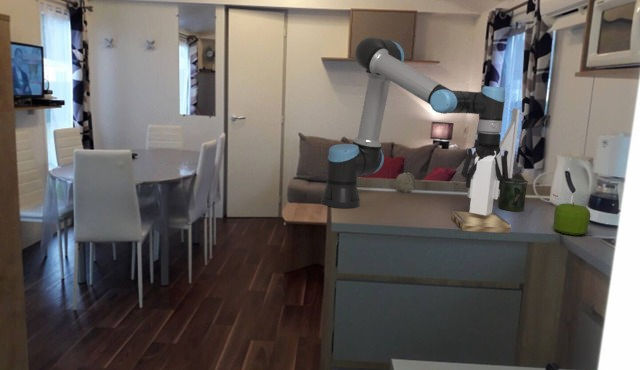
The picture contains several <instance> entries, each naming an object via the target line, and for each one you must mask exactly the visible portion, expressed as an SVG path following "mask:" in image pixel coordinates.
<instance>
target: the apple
mask: <svg viewBox="0 0 640 370" xmlns="http://www.w3.org/2000/svg"><path fill="white" fill-rule="evenodd" d="M590 221H591V212H590V210H589V209H588V208H587V207H586V206H584V205H579V204H574V202H572V203H560V204H559V205H557V206H556V207H555V210H554V216H553V228H554V229H555V230H556V231H557V232H559V233H560V232H561V233H560V234H563V233H564V234H563V235H568V234H569V236H570V235H571V236H580V235H583V234H586V233H588V228H589V225H590Z"/></svg>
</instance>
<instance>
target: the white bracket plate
mask: <svg viewBox="0 0 640 370" xmlns="http://www.w3.org/2000/svg"><path fill="white" fill-rule="evenodd" d="M520 112H521V109H519V108H512V112H511V120H510V123H509V126H508V127H507V130H506V131H505V133H504V135H503V137H502V139H501V140H500V145H499V147H500V150H506V151H508V155H507V166H508V178H513V174H514V173H513V172H514V171H513V170H514V163H515V157H516V156H515V155H516V154H515V153H516V146H517V137H518V130H519V120H520ZM496 157H497V159H498V166H499V169H500V172H501V174H502V163H501V155H500V152H499V154H498V155H497V156H496ZM496 180H497V176H496ZM499 193H500V190H498V198H499Z"/></svg>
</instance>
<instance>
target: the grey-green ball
mask: <svg viewBox="0 0 640 370" xmlns="http://www.w3.org/2000/svg"><path fill="white" fill-rule="evenodd" d="M393 184H394V186H395V189H396V191H398V192H401V193H409V192H411V191H413V190H414V189H415V188H414V187H415V185H416V178H415V176H414V174H412V173H410V172H402V173H399V174H398V175H397V177H396V178H395V180H394V181H393Z"/></svg>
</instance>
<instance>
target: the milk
mask: <svg viewBox="0 0 640 370" xmlns="http://www.w3.org/2000/svg"><path fill="white" fill-rule="evenodd" d="M494 152H495V155H494V156H491V155H490V156H487V157H484V158H483V159H481V160H480V161H478V159H479V156H478V155H476V156H475V159H474V161H475V164H476V162H477V168H476V171H475V173H474V174H473V176H472V179H473V189H472V198H470V205H469V212H470V213H475V214H480V215H485V216H486V215H488V214H490V213H493V208H494V207H493V205H494V200H495V199H494V190H495V181H496V169H495V164H496V162H495V159H494V158H495V156H496V151H494ZM496 158H497V157H496ZM497 163H498V159H497ZM475 164H474V165H475Z"/></svg>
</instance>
